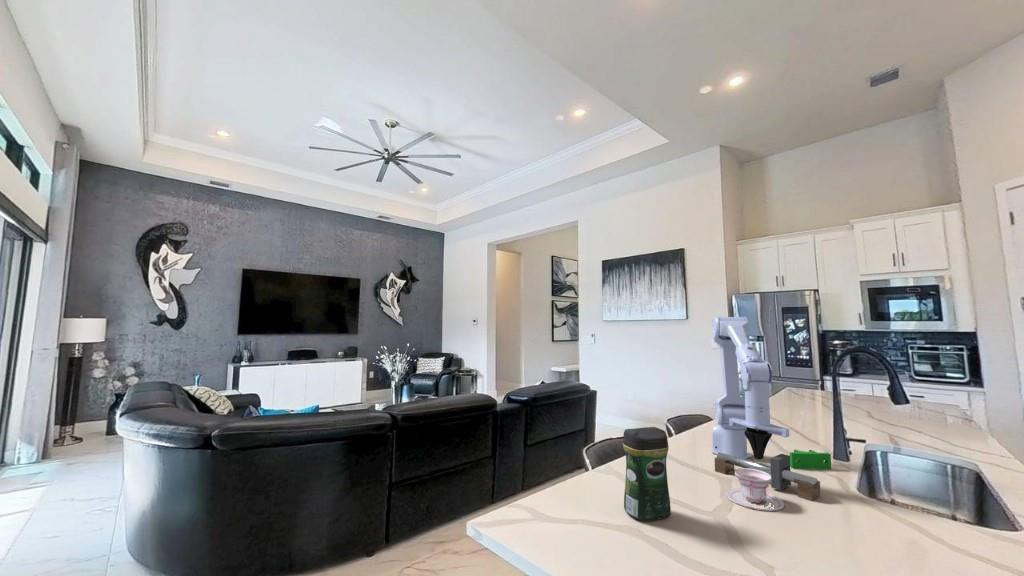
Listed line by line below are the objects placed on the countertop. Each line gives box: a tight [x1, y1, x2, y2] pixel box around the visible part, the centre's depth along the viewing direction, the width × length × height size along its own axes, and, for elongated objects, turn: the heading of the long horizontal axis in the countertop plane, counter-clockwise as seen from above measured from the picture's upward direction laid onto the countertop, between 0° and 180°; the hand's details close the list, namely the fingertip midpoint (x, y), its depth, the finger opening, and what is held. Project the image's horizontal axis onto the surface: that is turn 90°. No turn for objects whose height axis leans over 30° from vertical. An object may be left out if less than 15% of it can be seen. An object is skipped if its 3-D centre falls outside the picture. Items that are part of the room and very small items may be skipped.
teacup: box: [726, 467, 785, 512], centre depth 101 cm, size 12×12×6 cm
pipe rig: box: [714, 452, 822, 502], centre depth 112 cm, size 24×5×5 cm, turn 35°
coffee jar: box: [622, 426, 672, 522], centre depth 94 cm, size 10×8×19 cm
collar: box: [769, 453, 792, 491], centre depth 108 cm, size 2×6×7 cm, turn 125°
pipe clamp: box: [789, 449, 832, 470], centre depth 124 cm, size 11×4×5 cm, turn 89°
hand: (758, 458), depth 113 cm, fingers closed
